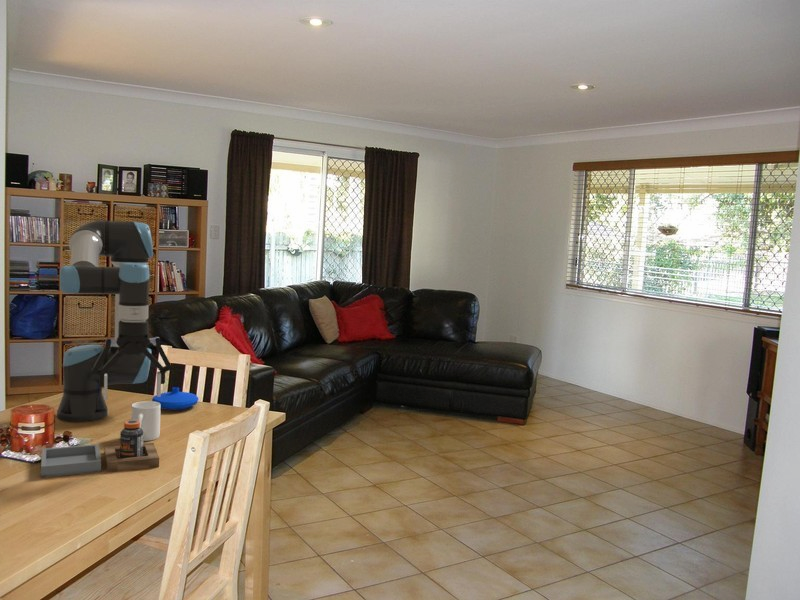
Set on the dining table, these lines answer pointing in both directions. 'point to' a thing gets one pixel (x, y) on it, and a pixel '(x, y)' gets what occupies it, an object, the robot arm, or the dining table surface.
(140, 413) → the mug
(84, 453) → the tray
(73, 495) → the dining table surface
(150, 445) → the socket frame
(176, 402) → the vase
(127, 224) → the robot arm
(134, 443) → the pill bottle
